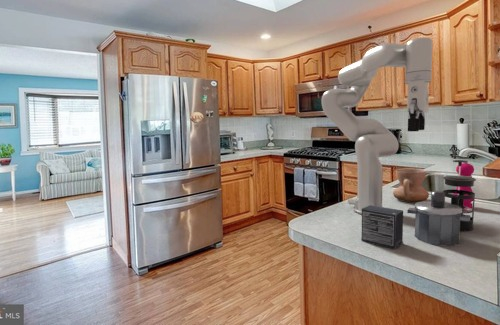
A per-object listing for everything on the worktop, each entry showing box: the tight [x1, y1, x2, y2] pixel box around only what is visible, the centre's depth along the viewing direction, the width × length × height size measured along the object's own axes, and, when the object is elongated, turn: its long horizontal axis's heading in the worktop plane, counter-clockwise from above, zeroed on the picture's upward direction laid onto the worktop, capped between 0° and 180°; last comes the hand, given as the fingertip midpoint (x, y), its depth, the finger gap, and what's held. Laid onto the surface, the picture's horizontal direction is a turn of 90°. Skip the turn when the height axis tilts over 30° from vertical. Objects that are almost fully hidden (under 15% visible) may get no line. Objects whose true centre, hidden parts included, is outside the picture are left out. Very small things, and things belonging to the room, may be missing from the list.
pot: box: [406, 207, 471, 247], centre depth 94 cm, size 16×12×9 cm
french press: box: [442, 159, 476, 232], centre depth 102 cm, size 12×9×23 cm
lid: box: [414, 190, 462, 216], centre depth 93 cm, size 12×12×6 cm
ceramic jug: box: [392, 167, 430, 203], centre depth 137 cm, size 18×14×14 cm
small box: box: [360, 205, 404, 250], centre depth 93 cm, size 11×6×10 cm, turn 44°
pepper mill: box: [452, 158, 475, 209], centre depth 124 cm, size 7×7×20 cm
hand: (416, 130), depth 101 cm, fingers open, 9 cm apart
